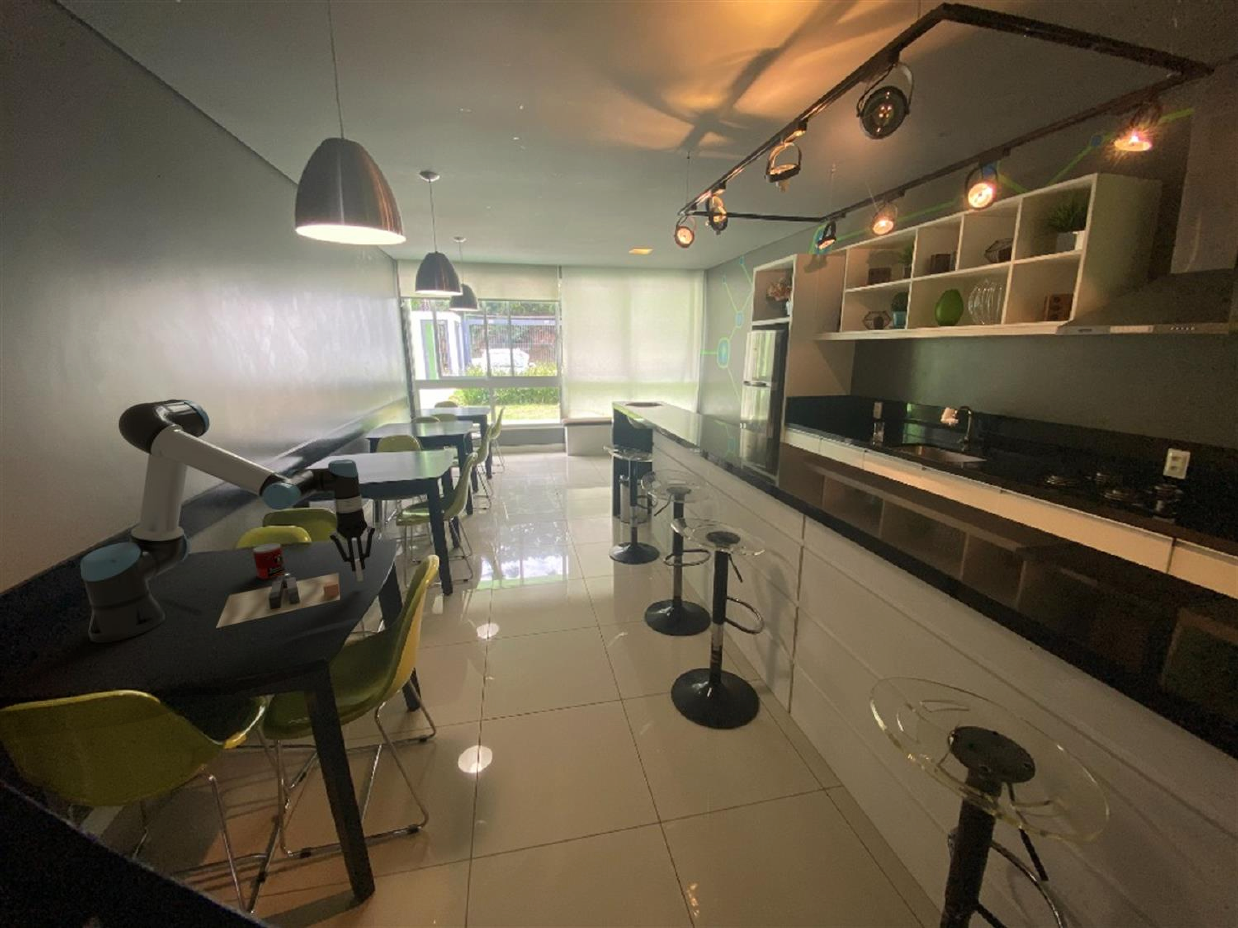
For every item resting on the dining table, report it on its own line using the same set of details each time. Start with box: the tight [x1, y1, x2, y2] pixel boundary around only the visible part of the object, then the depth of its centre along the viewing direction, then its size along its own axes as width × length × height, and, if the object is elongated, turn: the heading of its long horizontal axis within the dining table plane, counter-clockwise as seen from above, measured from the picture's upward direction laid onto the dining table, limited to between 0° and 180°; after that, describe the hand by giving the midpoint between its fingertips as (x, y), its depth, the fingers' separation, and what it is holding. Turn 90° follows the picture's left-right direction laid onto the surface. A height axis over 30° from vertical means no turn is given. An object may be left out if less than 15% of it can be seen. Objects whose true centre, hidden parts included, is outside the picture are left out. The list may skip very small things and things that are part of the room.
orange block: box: [323, 580, 341, 597], centre depth 153 cm, size 4×3×4 cm
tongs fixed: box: [269, 571, 292, 609], centre depth 152 cm, size 18×5×4 cm, turn 30°
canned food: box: [252, 542, 286, 580], centre depth 167 cm, size 8×8×11 cm
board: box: [215, 572, 341, 629], centre depth 151 cm, size 30×22×1 cm
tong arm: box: [286, 576, 300, 605], centre depth 152 cm, size 13×2×4 cm, turn 36°
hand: (360, 579), depth 156 cm, fingers closed
